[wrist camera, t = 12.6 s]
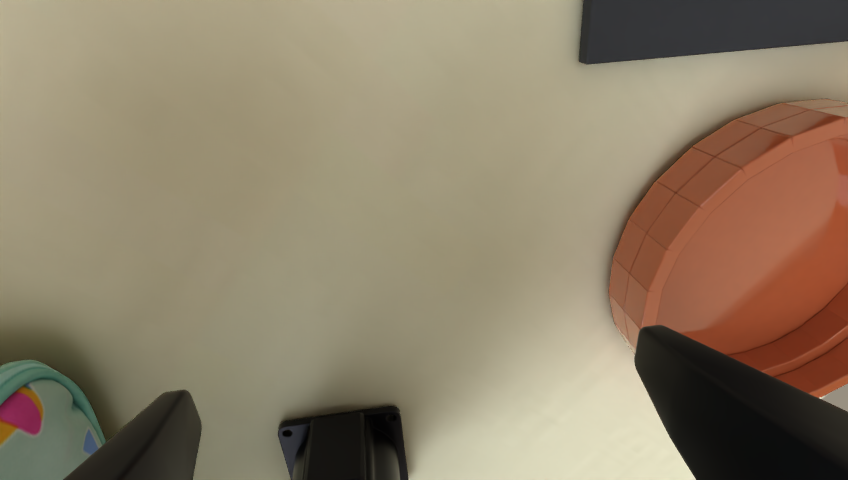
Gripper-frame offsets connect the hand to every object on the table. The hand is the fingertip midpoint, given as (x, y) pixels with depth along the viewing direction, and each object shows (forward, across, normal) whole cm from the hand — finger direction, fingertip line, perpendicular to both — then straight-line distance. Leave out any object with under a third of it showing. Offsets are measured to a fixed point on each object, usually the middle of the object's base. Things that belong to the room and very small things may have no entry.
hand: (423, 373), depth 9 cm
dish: (+12, -18, +6) cm, 22 cm away
